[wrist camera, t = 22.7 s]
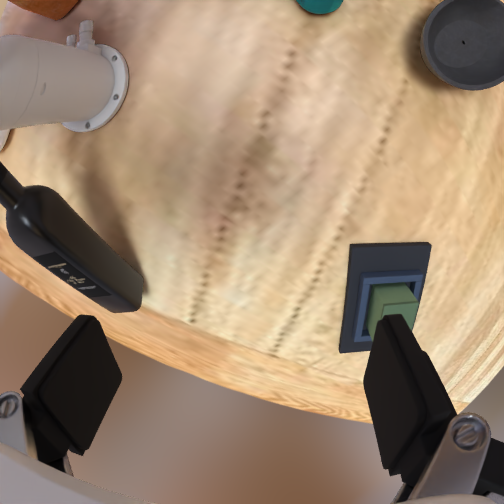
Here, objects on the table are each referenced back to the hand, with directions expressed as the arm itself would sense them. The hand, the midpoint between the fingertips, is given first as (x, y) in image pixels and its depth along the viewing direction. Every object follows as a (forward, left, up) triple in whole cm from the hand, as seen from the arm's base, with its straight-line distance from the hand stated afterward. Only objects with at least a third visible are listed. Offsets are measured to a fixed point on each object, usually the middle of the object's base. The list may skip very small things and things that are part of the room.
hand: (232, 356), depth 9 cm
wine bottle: (+14, -20, -26) cm, 36 cm away
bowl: (-21, +28, -28) cm, 45 cm away
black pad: (+17, +17, -28) cm, 37 cm away
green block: (+17, +17, -27) cm, 36 cm away
